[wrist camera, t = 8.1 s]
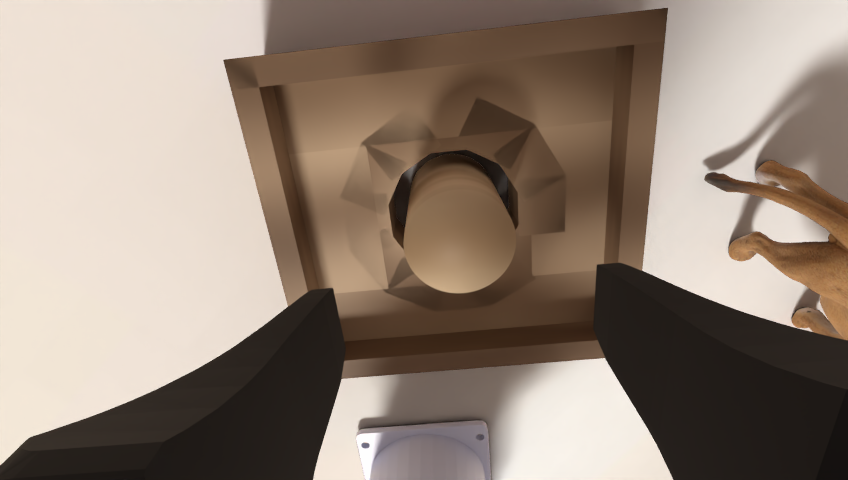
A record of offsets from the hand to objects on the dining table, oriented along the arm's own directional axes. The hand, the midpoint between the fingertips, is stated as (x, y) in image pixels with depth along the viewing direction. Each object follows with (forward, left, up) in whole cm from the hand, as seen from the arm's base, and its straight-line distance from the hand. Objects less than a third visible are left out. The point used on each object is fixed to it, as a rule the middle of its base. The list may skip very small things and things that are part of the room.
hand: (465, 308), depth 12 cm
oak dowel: (0, 0, -10) cm, 10 cm away
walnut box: (0, 0, -10) cm, 10 cm away
